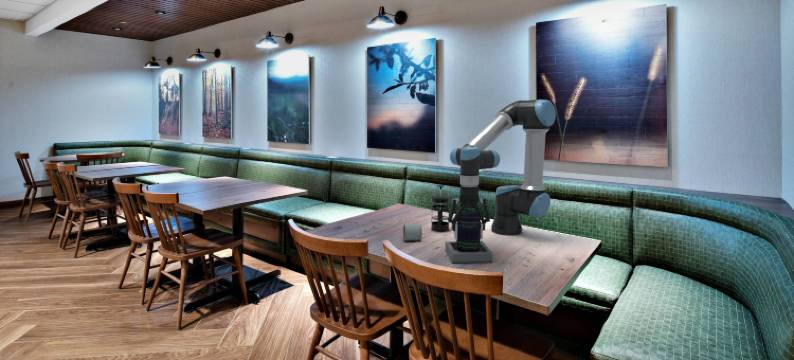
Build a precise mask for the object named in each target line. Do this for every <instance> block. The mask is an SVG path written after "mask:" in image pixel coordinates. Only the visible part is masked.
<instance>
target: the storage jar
mask: <svg viewBox="0 0 794 360" xmlns="http://www.w3.org/2000/svg"><path fill="white" fill-rule="evenodd" d="M480 217H481V215H478V214H477V212H476V211H463V212H462V213H461V215H460V216H459V215H458V220H457V222H456V223H457V240H455V241H456V246H457V247H456V250H457V251H459V252H479V251H480V241H481V239H480V227H481V222H482V221H481V218H480Z"/></svg>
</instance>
